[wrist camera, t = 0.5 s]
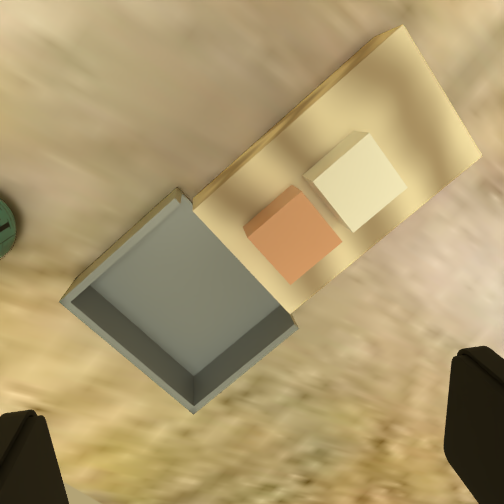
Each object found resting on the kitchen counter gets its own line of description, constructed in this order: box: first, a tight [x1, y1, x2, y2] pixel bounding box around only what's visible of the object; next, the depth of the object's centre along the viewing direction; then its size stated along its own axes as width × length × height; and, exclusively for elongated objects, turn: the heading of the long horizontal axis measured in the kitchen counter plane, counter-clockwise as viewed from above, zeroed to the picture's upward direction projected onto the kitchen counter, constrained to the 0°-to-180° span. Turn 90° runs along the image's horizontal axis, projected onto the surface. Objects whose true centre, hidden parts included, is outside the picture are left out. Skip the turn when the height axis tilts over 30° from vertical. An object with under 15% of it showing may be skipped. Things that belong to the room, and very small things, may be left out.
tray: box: [59, 187, 299, 414], centre depth 37 cm, size 12×15×5 cm
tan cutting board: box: [193, 25, 482, 314], centre depth 35 cm, size 20×12×5 cm, turn 130°
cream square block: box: [302, 131, 408, 233], centre depth 31 cm, size 5×5×3 cm
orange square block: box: [243, 185, 342, 285], centre depth 32 cm, size 5×5×3 cm
